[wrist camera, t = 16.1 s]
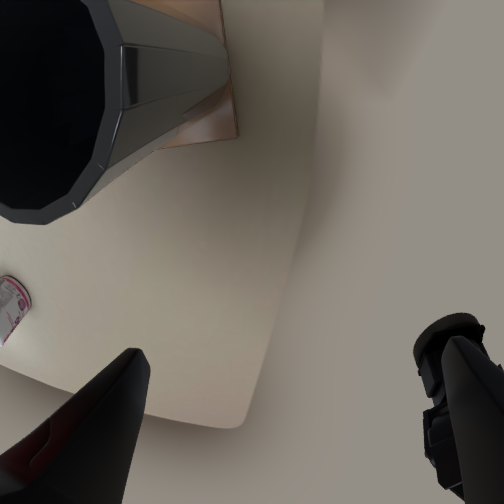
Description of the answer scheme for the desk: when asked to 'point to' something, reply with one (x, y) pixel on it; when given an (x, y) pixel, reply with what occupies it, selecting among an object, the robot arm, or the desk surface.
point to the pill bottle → (11, 306)
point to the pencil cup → (94, 95)
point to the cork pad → (223, 115)
